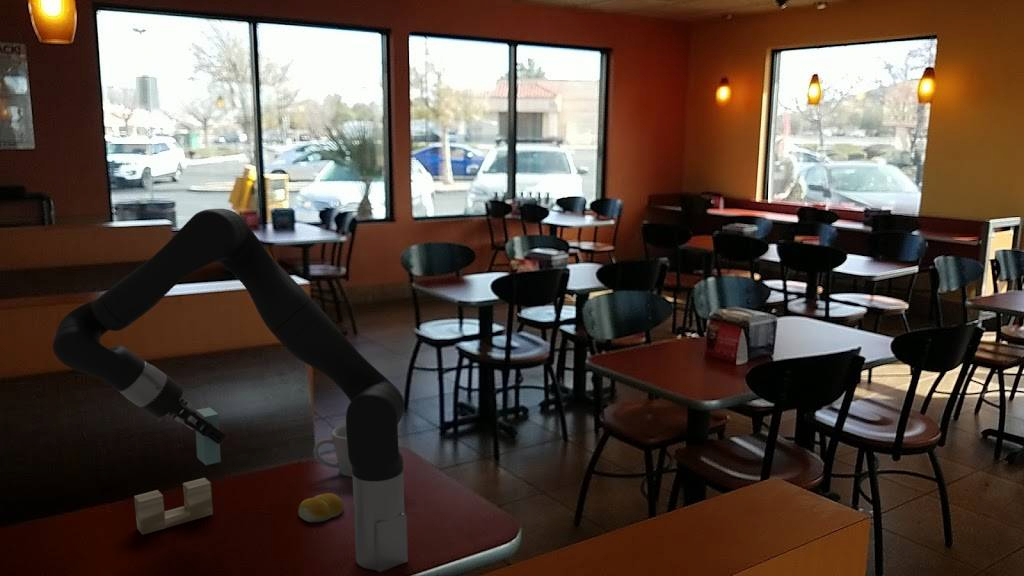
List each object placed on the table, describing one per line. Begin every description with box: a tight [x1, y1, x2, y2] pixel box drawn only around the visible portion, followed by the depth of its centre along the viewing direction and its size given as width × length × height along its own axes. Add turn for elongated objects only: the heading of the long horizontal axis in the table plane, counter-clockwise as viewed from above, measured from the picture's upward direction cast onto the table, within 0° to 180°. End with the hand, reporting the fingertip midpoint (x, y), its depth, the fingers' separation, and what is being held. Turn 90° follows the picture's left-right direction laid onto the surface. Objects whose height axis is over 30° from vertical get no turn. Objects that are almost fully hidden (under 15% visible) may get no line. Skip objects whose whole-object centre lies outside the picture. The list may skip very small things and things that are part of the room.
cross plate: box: [195, 407, 222, 466], centre depth 163 cm, size 5×3×10 cm, turn 39°
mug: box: [312, 424, 353, 478], centre depth 190 cm, size 10×15×10 cm
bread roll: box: [297, 492, 344, 523], centre depth 170 cm, size 8×9×4 cm
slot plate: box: [133, 477, 214, 535], centre depth 166 cm, size 4×14×7 cm, turn 129°
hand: (216, 435), depth 164 cm, fingers closed on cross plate, 5 cm apart
